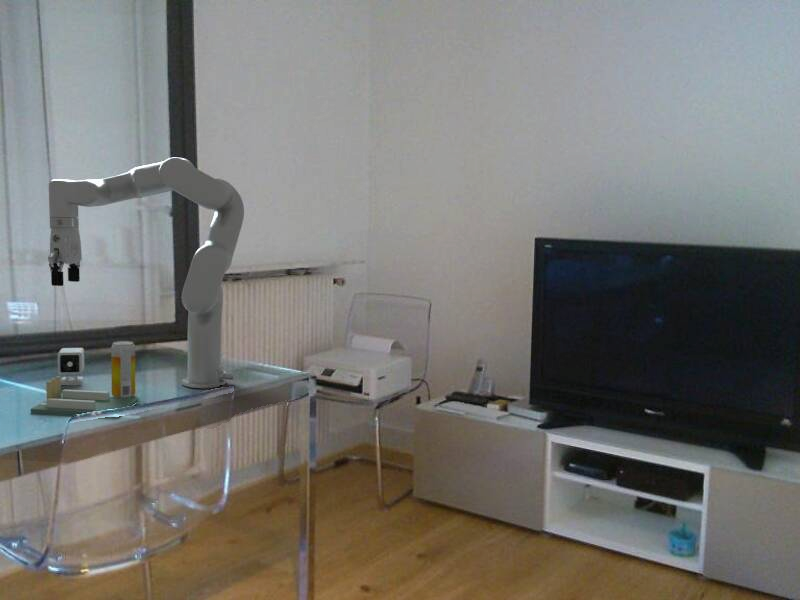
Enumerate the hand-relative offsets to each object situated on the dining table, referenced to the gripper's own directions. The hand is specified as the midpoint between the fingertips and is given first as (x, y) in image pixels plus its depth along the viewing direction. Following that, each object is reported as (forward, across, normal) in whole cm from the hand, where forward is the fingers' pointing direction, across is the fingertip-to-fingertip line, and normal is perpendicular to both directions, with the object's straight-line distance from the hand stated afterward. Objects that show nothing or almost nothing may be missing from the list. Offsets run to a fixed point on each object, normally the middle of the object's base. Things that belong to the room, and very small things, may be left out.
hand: (65, 283), depth 225 cm
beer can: (+29, -14, -22) cm, 39 cm away
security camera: (+29, -4, -3) cm, 29 cm away
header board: (+28, -26, -17) cm, 42 cm away
